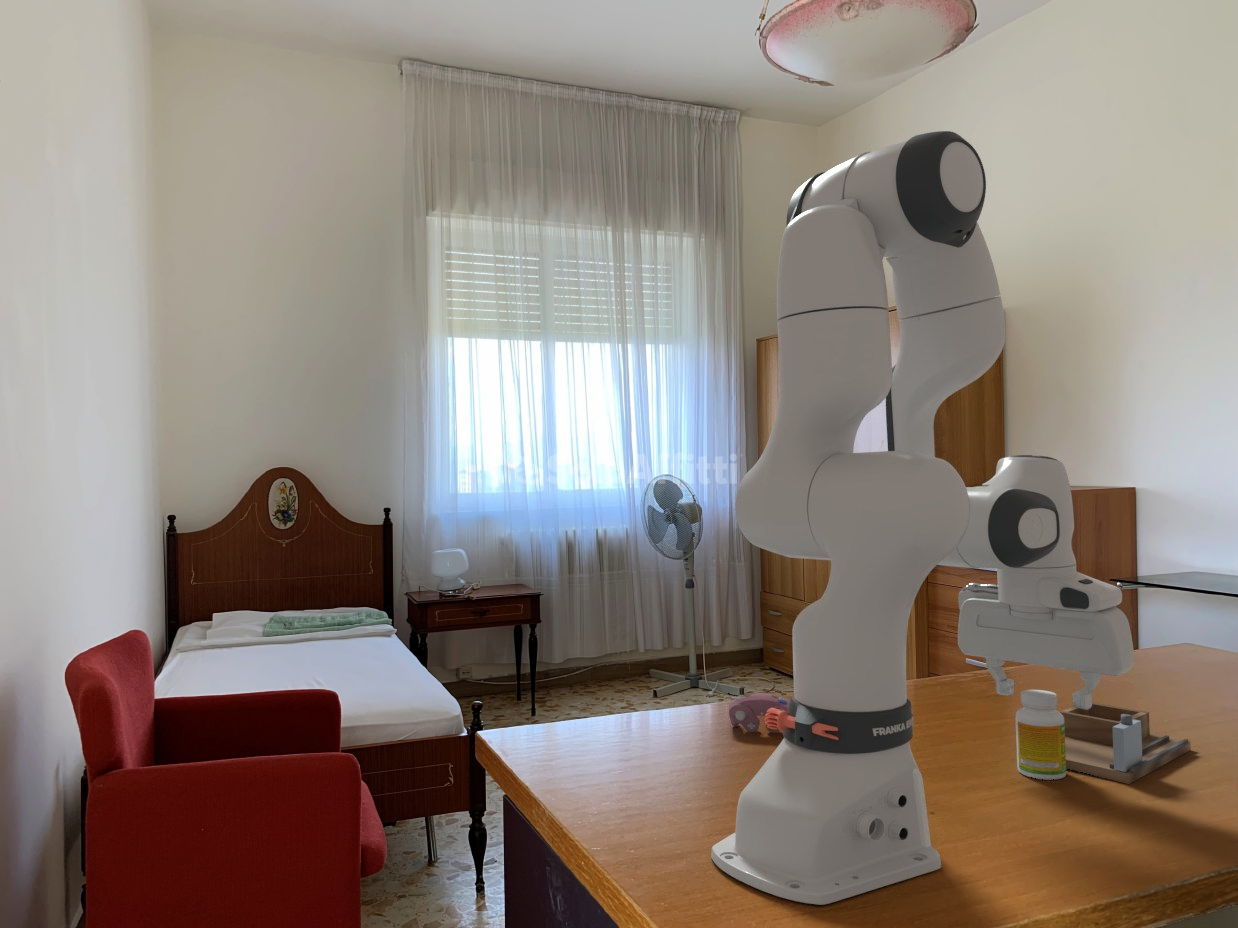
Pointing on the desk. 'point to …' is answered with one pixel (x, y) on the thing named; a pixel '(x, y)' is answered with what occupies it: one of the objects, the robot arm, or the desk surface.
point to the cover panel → (1127, 743)
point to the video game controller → (755, 710)
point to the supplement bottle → (1040, 736)
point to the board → (1095, 743)
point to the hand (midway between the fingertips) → (1042, 700)
